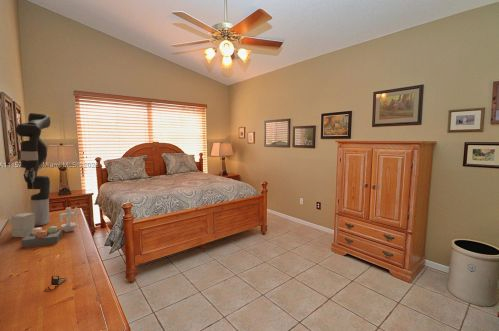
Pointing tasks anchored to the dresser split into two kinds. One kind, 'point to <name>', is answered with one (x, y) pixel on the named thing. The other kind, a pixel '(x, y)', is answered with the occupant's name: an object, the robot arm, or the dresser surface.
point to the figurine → (68, 219)
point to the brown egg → (41, 233)
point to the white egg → (34, 230)
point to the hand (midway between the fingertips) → (30, 188)
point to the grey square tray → (41, 239)
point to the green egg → (52, 229)
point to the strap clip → (57, 280)
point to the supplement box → (22, 224)
